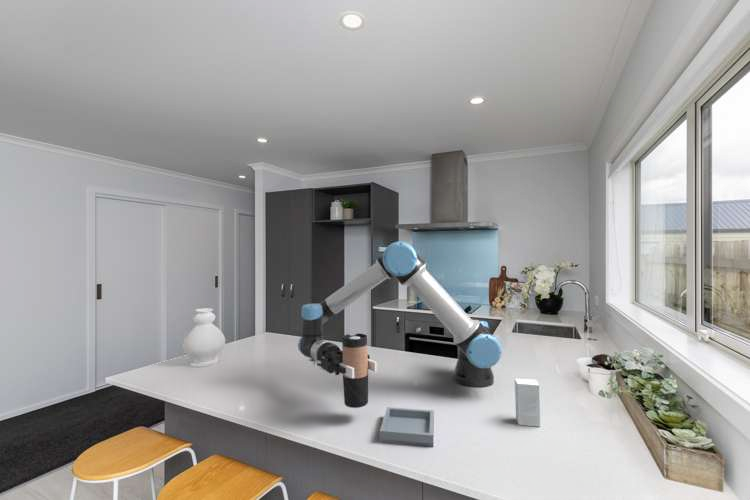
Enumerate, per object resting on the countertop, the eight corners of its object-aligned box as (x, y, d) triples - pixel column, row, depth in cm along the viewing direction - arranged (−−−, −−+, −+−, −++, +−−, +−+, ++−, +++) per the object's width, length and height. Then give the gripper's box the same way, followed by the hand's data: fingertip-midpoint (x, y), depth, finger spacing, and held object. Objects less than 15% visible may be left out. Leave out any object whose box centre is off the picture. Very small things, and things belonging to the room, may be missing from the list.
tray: (433, 420, 101) (433, 410, 101) (433, 447, 87) (433, 435, 87) (387, 417, 104) (387, 407, 104) (379, 442, 90) (379, 430, 90)
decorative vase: (213, 354, 171) (212, 305, 171) (233, 361, 161) (232, 308, 161) (175, 364, 157) (175, 310, 157) (194, 372, 146) (194, 314, 146)
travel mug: (359, 410, 97) (357, 340, 97) (338, 404, 101) (336, 337, 101) (373, 400, 104) (372, 334, 104) (353, 395, 108) (351, 332, 108)
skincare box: (536, 420, 101) (536, 379, 101) (540, 427, 97) (539, 385, 97) (515, 418, 102) (514, 378, 102) (517, 425, 98) (517, 383, 98)
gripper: (350, 357, 123) (391, 374, 105) (298, 370, 111) (335, 392, 92) (350, 337, 123) (391, 350, 105) (298, 347, 111) (334, 364, 93)
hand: (364, 370), depth 99 cm, fingers closed on travel mug, 7 cm apart
